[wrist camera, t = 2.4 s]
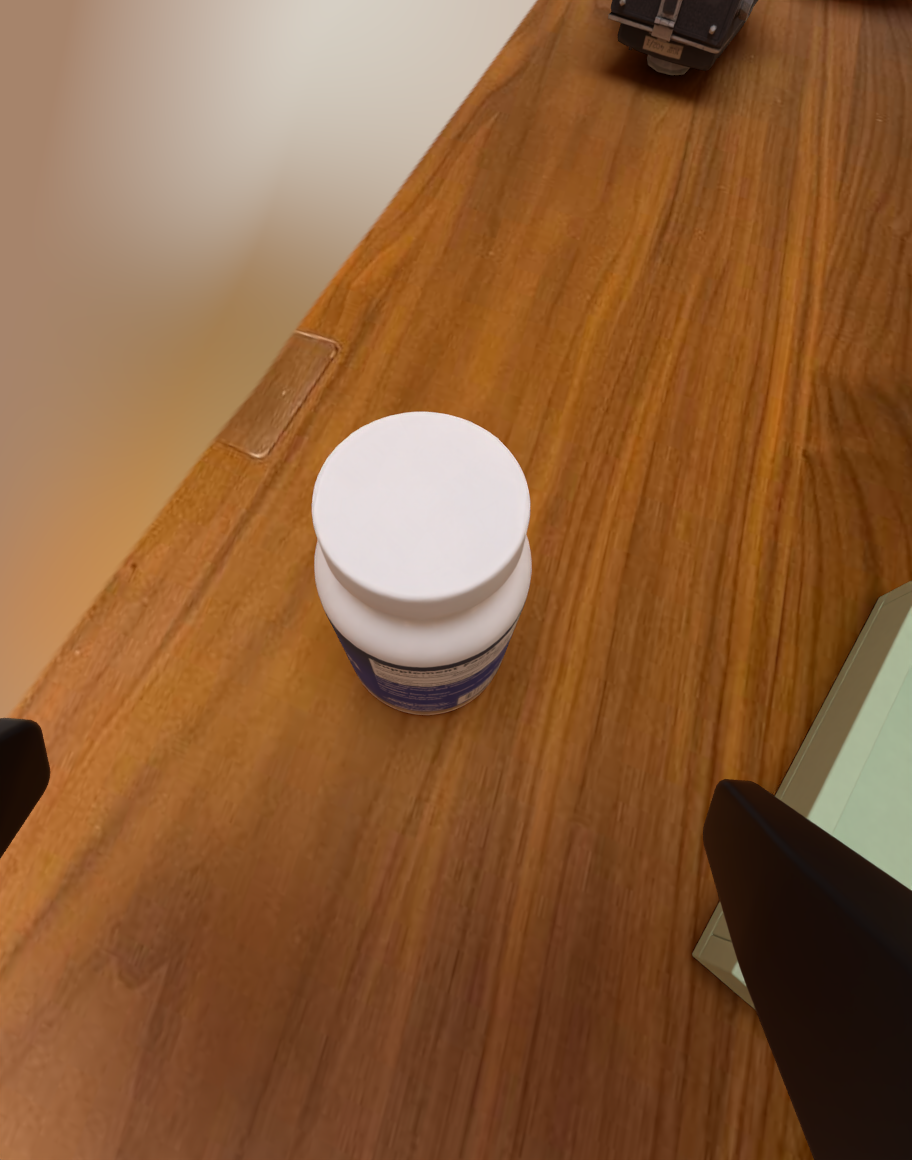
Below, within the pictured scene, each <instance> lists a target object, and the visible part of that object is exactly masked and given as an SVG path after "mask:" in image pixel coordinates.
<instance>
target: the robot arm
mask: <svg viewBox="0 0 912 1160" xmlns="http://www.w3.org/2000/svg"><path fill="white" fill-rule="evenodd" d="M49 779H50V767H49V762H48V757H47V753H46V748H45V743H44V739H43V734H42V730H41V727H40V726H39V725H38V724H37V723H36V722H34V721H32V720H25V719H13V718H1V719H0V858H1V857H2V855H3V854H4V852H5V851H6V849H7V848H8V846H9V845H10V843H11V842H12V840H13V839H14V837H15V836H16V834H17V833H18V831H19V830H20V828H21V827H22V825H23V824H24V822H25V820H26V819H27V817H28V816H29V814H30V813H31V811H32V810H33V808H34V807H35V805H36V804H37V802H38V801H39V799H40V798H41V796H42V795H43V793H44V791H45V790H46V788H47V785H48V783H49ZM703 841H704V847H705V850H706V854H707V857H708V861H709V864H710V868H711V871H712V875H713V878H714V882H715V885H716V889H717V892H718V896H719V899H720V903H721V906H722V910H723V913H724V917H725V920H726V924H727V927H728V931H729V934H730V938H731V941H732V944H733V948H734V951H735V954H736V957H737V961H738V964H739V967H740V970H741V973H742V975H743V978H744V981H745V983H746V986H747V989H748V992H749V994H750V997H751V999H752V1002H753V1004H754V1007H755V1009H756V1012H757V1015H758V1017H759V1020H760V1022H761V1025H762V1027H763V1030H764V1032H765V1035H766V1038H767V1040H768V1043H769V1045H770V1048H771V1050H772V1053H773V1055H774V1058H775V1061H776V1063H777V1066H778V1068H779V1071H780V1073H781V1076H782V1078H783V1081H784V1084H785V1086H786V1089H787V1091H788V1094H789V1096H790V1099H791V1101H792V1104H793V1107H794V1109H795V1112H796V1114H797V1117H798V1119H799V1122H800V1124H801V1127H802V1130H803V1132H804V1135H805V1137H806V1140H807V1142H808V1145H809V1147H810V1150H811V1153H812V1155H813V1158H814V1160H912V890H910V889H909V888H907V887H906V886H905V885H903V884H902V883H900V882H899V881H897V880H896V879H894V878H893V877H891V876H890V875H889V874H887V873H886V872H884V871H883V870H881V869H880V868H878V867H877V866H875V865H874V864H873V863H871V862H870V861H868V860H867V859H865V858H864V857H862V856H861V855H859V854H858V853H857V852H855V851H854V850H852V849H851V848H849V847H848V846H846V845H845V844H843V843H842V842H841V841H839V840H838V839H836V838H835V837H833V836H832V835H830V834H829V833H827V832H826V831H825V830H823V829H822V828H820V827H819V826H817V825H816V824H814V823H813V822H811V821H810V820H809V819H807V818H806V817H804V816H803V815H801V814H800V813H798V812H797V811H795V810H794V809H793V808H791V807H790V806H788V805H787V804H785V803H784V802H782V801H781V800H779V799H778V798H777V797H775V796H774V795H772V794H771V793H769V792H768V791H766V790H765V789H764V788H762V787H761V786H759V785H758V784H756V783H754V782H751V781H742V780H730V779H724V780H722V781H720V782H719V783H718V784H717V786H716V788H715V791H714V794H713V798H712V801H711V804H710V807H709V811H708V814H707V817H706V820H705V824H704V828H703Z"/></svg>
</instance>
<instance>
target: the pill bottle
mask: <svg viewBox="0 0 912 1160" xmlns="http://www.w3.org/2000/svg"><path fill="white" fill-rule="evenodd" d="M312 518H313V525H314V529H315V533H316V536H317V539H318V541H317V546H316V551H315V562H314V567H315V580H316V586H317V590H318V594H319V597H320V600H321V603H322V605H323V608H324V610H325V612H326V615H327V617H328V619H329V621H330V622H331V624H332V626H333V628H334V630H335V632H336V634H337V636H338V638H339V640H340V642H341V644H342V646H343V648H344V650H345V652H346V654H347V656H348V658H349V660H350V662H351V664H352V666H353V668H354V670H355V672H356V674H357V676H358V677H359V679H360V680H361V682H362V683H363V685H364V686H365V687H366V688H367V690H368V691H369V692H370V693H371V694H372V695H374V696H375V697H376V698H377V699H379V700H380V701H382V702H383V703H385V704H386V705H388V706H390V707H392V708H394V709H397V710H400V711H403V712H407V713H411V714H418V715H433V714H440V713H445V712H449V711H452V710H455V709H457V708H459V707H462V706H464V705H465V704H467V703H469V702H470V701H472V700H473V699H475V698H476V697H477V696H478V695H479V694H480V693H482V692H483V690H484V689H485V688H486V687H487V686H488V685H489V683H490V682H491V680H492V679H493V677H494V676H495V674H496V672H497V671H498V669H499V667H500V664H501V661H502V659H503V657H504V654H505V652H506V649H507V646H508V644H509V641H510V639H511V636H512V634H513V631H514V629H515V626H516V624H517V621H518V619H519V616H520V614H521V611H522V609H523V607H524V604H525V601H526V598H527V594H528V590H529V586H530V580H531V571H532V568H531V553H530V546H529V542H528V539H527V536H526V533H527V529H528V524H529V519H530V496H529V491H528V486H527V482H526V479H525V476H524V474H523V472H522V469H521V467H520V466H519V464H518V462H517V461H516V459H515V457H514V456H513V455H512V453H511V452H510V451H509V450H508V449H507V448H506V447H505V445H504V444H503V443H502V442H501V441H500V440H499V439H498V438H497V437H495V436H494V435H492V434H491V433H490V432H488V431H486V430H485V429H483V428H481V427H480V426H478V425H476V424H474V423H472V422H470V421H467V420H465V419H462V418H458V417H455V416H451V415H448V414H441V413H434V412H409V413H402V414H396V415H391V416H388V417H385V418H382V419H379V420H376V421H374V422H372V423H369V424H367V425H365V426H363V427H361V428H360V429H358V430H357V431H355V432H353V433H352V434H351V435H350V436H348V437H347V438H346V439H345V440H343V441H342V442H341V443H340V444H339V445H338V446H337V447H336V448H335V449H334V450H333V452H332V453H331V454H330V455H329V457H328V458H327V460H326V461H325V463H324V465H323V466H322V468H321V470H320V473H319V475H318V477H317V480H316V483H315V486H314V491H313V497H312Z"/></svg>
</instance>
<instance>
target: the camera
mask: <svg viewBox="0 0 912 1160" xmlns="http://www.w3.org/2000/svg"><path fill="white" fill-rule="evenodd" d="M757 1H758V0H612V4H611V10H612V12H611V13H610V14H609V16H608V19H611V20H614V21H617V22H620V23H621V25H620V29H619V32H618V41H619V42H621V43H622V44H624V45H626V46H628V47H629V50H632V48H633V49H635V50H637V51H639V52H642V53H645V54H648V57H647V61H648V65H649V66H650V67H652V68H653V69H654V70H656V71H657V72H661V73H665V74H669V75H681V74H685V73H686V71H687V70H688V69H689V68H695V69H700V70H704V71H706V70H709V69H710V68H711V66H712V65H713V64H714V62H715V61H716V59H717V58H719V56H720V55H721V54H722V52H723V51H724V50H725V49H726V47H727V46H728V45H729V43H730V42H731V41H732V39H733V38H734V37H735V36H736V34H737V33H738V32H739V30H740V29H741V28H742V26H743V25H744V23H745V22H746V21H747V19H748V17H749V15H750V13H751V11H752V9H753V7H754V5H755V4H756V3H757Z"/></svg>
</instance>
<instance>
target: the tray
mask: <svg viewBox="0 0 912 1160" xmlns="http://www.w3.org/2000/svg"><path fill="white" fill-rule="evenodd" d="M775 797H777V798H778V799H779V800H781V801H782V802H784V803H785V804H787V805H788V806H790V807H791V808H793V809H794V810H795V811H797V812H798V813H800V814H801V815H803V816H804V817H806V818H807V819H809V820H810V821H811V822H813V823H814V824H816V825H817V826H819V827H820V828H822V829H823V830H825V831H826V832H827V833H829V834H830V835H832V836H833V837H835V838H836V839H838V840H839V841H841V842H842V843H843V844H845V845H846V846H848V847H849V848H851V849H852V850H854V851H855V852H857V853H858V854H859V855H861V856H862V857H864V858H865V859H867V860H868V861H870V862H871V863H873V864H874V865H875V866H877V867H878V868H880V869H881V870H883V871H884V872H886V873H887V874H889V875H890V876H891V877H893V878H894V879H896V880H897V881H899V882H900V883H902V884H903V885H905V886H906V887H907V888H909V889H910V890H912V581H910V582H908V583H906V584H904V585H902V586H900V587H898V588H897V589H895V590H893V591H891V592H889V593H887V594H885V595H883V596H881V597H879V599H878V601H877V603H876V605H875V607H874V609H873V610H872V612H871V614H870V616H869V618H868V620H867V622H866V624H865V626H864V628H863V629H862V631H861V633H860V635H859V637H858V639H857V641H856V643H855V645H854V647H853V649H852V650H851V652H850V654H849V656H848V658H847V660H846V662H845V664H844V666H843V668H842V669H841V671H840V673H839V675H838V677H837V679H836V681H835V683H834V685H833V687H832V689H831V690H830V692H829V694H828V696H827V698H826V700H825V702H824V704H823V706H822V708H821V709H820V711H819V713H818V715H817V717H816V719H815V721H814V723H813V725H812V727H811V729H810V730H809V732H808V734H807V736H806V738H805V740H804V742H803V744H802V746H801V748H800V749H799V751H798V753H797V755H796V757H795V759H794V761H793V763H792V765H791V767H790V769H789V770H788V772H787V774H786V776H785V778H784V780H783V782H782V784H781V786H780V788H779V789H778V791H777V793H776V795H775ZM692 955H693V957H694V958H695V959H697V960H698V961H699V962H700V963H701V964H702V965H704V966H705V967H706V968H707V969H708V970H709V971H711V972H712V973H713V974H714V975H715V976H716V977H718V978H719V979H720V980H721V981H722V982H723V983H725V984H726V985H727V986H728V987H729V988H730V989H731V990H733V991H734V992H735V993H736V994H737V995H738V996H740V997H741V998H742V999H743V1000H744V1001H745V1002H747V1003H748V1004H749V1005H750V1006H751V1007H752V1008H754V1009H755V1007H754V1004H753V1002H752V999H751V997H750V994H749V992H748V989H747V986H746V983H745V981H744V978H743V975H742V973H741V970H740V967H739V964H738V961H737V957H736V954H735V951H734V948H733V944H732V941H731V938H730V934H729V931H728V927H727V924H726V920H725V917H724V913H723V910H722V906H721V903H720V902H719V904H718V906H717V908H716V909H715V911H714V913H713V915H712V917H711V919H710V921H709V923H708V925H707V927H706V929H705V930H704V932H703V934H702V936H701V938H700V940H699V942H698V944H697V946H696V948H695V949H694V951H693V953H692ZM755 1010H756V1009H755Z"/></svg>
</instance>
